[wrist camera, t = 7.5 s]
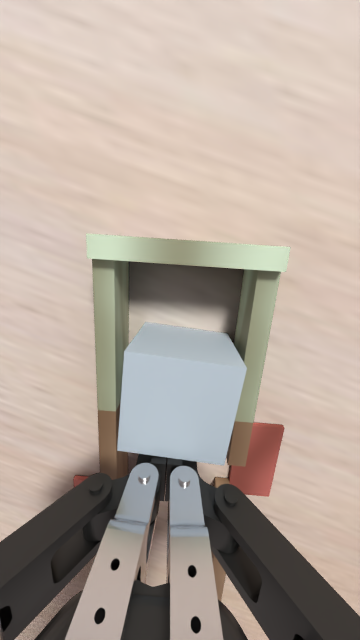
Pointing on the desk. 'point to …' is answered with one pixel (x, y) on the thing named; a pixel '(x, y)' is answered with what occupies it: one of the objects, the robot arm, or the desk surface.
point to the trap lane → (250, 341)
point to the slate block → (180, 393)
